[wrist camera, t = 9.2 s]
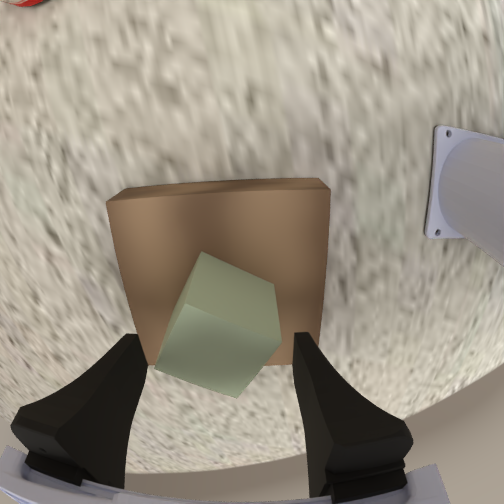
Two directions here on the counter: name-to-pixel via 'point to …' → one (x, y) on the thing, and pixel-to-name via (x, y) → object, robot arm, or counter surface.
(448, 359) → the counter surface
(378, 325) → the counter surface
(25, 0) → the beer can
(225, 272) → the sage cube
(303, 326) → the walnut block
